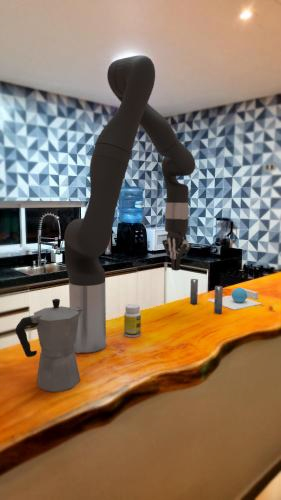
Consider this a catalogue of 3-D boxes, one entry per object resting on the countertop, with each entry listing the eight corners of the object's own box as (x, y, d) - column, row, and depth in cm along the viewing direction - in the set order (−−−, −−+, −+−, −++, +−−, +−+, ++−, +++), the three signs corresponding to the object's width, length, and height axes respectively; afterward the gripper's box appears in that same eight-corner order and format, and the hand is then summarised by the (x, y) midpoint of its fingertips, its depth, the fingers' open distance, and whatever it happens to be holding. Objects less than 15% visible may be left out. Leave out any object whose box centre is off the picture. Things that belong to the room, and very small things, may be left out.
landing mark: (234, 310, 127) (234, 309, 127) (206, 300, 138) (206, 299, 138) (261, 304, 134) (261, 303, 134) (233, 295, 146) (233, 294, 146)
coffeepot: (72, 364, 86) (70, 289, 83) (97, 378, 79) (95, 297, 76) (8, 387, 75) (4, 302, 72) (30, 406, 68) (26, 313, 66)
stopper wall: (255, 299, 140) (255, 293, 140) (237, 294, 148) (237, 288, 147) (257, 298, 141) (258, 292, 140) (240, 293, 148) (240, 287, 148)
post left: (193, 305, 132) (193, 280, 131) (188, 303, 135) (189, 279, 133) (198, 304, 134) (199, 279, 132) (194, 302, 136) (194, 278, 135)
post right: (217, 314, 122) (218, 288, 120) (212, 312, 124) (213, 286, 123) (223, 313, 123) (224, 287, 122) (218, 311, 125) (219, 285, 124)
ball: (249, 303, 135) (239, 304, 132) (239, 300, 139) (228, 301, 137) (250, 288, 134) (239, 289, 132) (239, 286, 139) (228, 287, 136)
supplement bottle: (138, 338, 101) (139, 308, 100) (122, 337, 102) (122, 307, 101) (142, 332, 106) (142, 304, 105) (126, 330, 107) (126, 303, 106)
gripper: (155, 216, 121) (154, 267, 124) (180, 218, 110) (178, 274, 112) (173, 216, 125) (172, 265, 127) (199, 217, 114) (197, 272, 116)
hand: (175, 270), depth 120 cm, fingers closed
